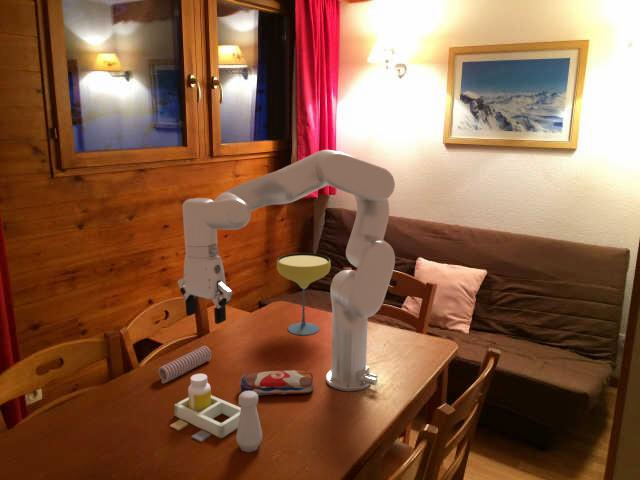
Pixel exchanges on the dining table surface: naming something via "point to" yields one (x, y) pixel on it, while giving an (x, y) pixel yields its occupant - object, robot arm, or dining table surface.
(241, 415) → the salt shaker
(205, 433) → the slate tag
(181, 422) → the brass tag
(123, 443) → the dining table surface
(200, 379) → the supplement bottle
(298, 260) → the cocktail glass
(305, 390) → the pencil case
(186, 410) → the socket block
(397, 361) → the dining table surface
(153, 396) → the dining table surface
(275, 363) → the dining table surface
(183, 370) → the coil
